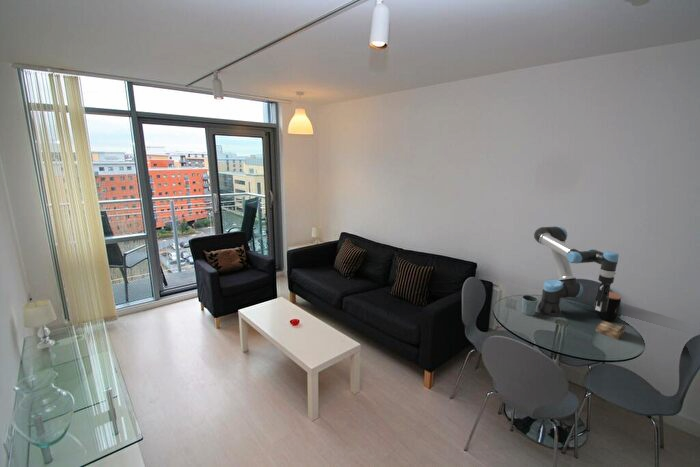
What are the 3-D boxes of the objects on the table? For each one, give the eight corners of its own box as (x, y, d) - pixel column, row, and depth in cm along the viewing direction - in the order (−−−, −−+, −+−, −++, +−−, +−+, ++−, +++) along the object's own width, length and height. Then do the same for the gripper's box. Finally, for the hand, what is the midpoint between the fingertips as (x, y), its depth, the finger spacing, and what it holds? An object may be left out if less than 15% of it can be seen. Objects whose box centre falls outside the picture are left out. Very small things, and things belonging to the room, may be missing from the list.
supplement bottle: (594, 305, 214) (597, 289, 211) (607, 309, 209) (610, 292, 206) (592, 309, 209) (596, 292, 206) (606, 313, 204) (609, 295, 201)
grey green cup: (538, 316, 230) (541, 301, 226) (524, 316, 230) (526, 301, 227) (531, 309, 240) (533, 294, 236) (517, 309, 240) (519, 294, 236)
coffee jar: (616, 323, 220) (622, 299, 215) (596, 318, 226) (602, 295, 221) (615, 316, 228) (621, 294, 223) (597, 312, 234) (602, 289, 229)
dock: (595, 331, 212) (596, 324, 210) (602, 324, 219) (603, 317, 218) (617, 339, 202) (619, 332, 201) (624, 332, 210) (625, 325, 208)
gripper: (607, 281, 195) (601, 315, 200) (619, 274, 205) (612, 306, 211) (593, 277, 201) (587, 310, 206) (605, 270, 211) (599, 302, 217)
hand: (600, 308), depth 209 cm, fingers closed on supplement bottle, 7 cm apart
